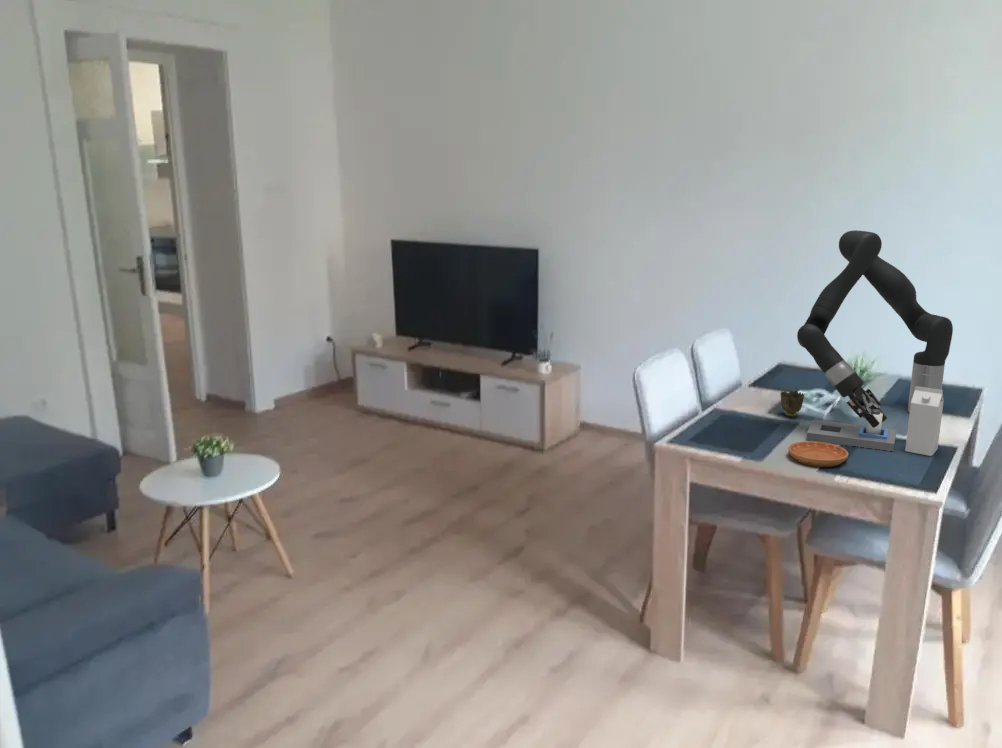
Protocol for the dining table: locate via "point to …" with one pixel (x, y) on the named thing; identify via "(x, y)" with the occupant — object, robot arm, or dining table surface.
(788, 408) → the cup
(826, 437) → the block with square holes
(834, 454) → the saucer
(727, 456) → the dining table surface
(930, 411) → the milk carton
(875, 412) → the capped white bottle
